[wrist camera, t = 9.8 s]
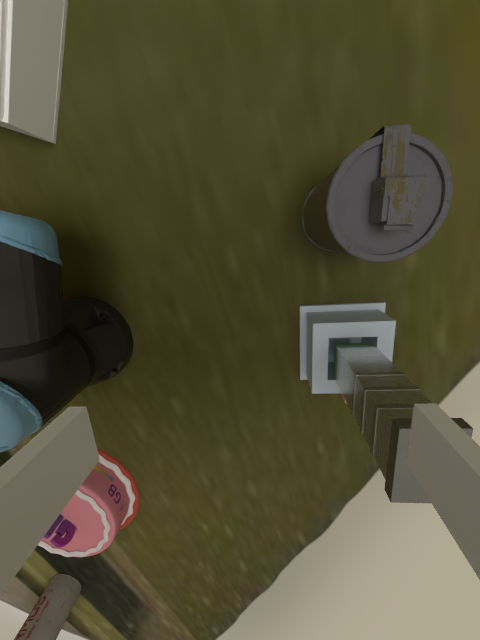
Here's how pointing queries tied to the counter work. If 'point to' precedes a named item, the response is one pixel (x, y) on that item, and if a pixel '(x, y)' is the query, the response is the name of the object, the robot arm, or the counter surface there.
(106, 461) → the cake
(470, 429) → the column
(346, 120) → the counter surface
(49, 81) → the white box
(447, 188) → the canister
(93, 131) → the counter surface
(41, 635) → the thermos bottle
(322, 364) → the stand base
